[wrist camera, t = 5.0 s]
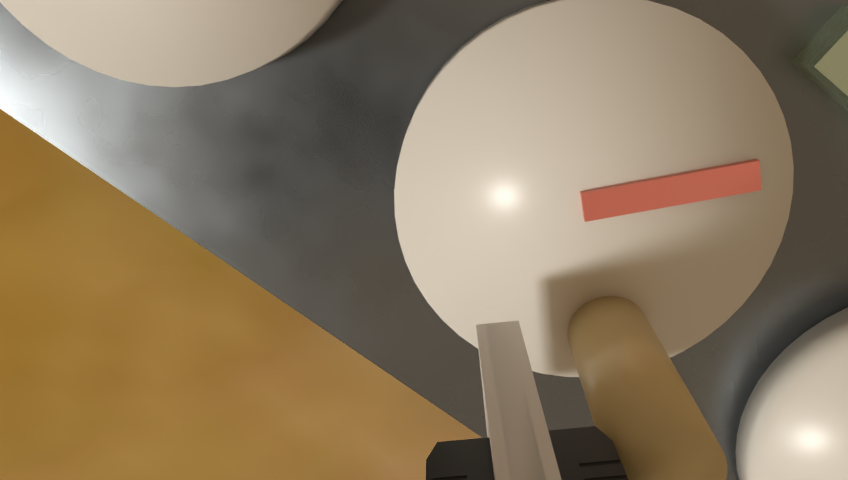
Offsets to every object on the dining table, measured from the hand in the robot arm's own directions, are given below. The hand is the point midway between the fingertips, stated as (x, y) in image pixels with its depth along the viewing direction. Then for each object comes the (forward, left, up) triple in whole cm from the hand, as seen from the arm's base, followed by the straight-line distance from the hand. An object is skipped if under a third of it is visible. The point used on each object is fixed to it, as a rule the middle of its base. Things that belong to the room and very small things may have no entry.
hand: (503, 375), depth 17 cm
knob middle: (-1, +4, -4) cm, 5 cm away
